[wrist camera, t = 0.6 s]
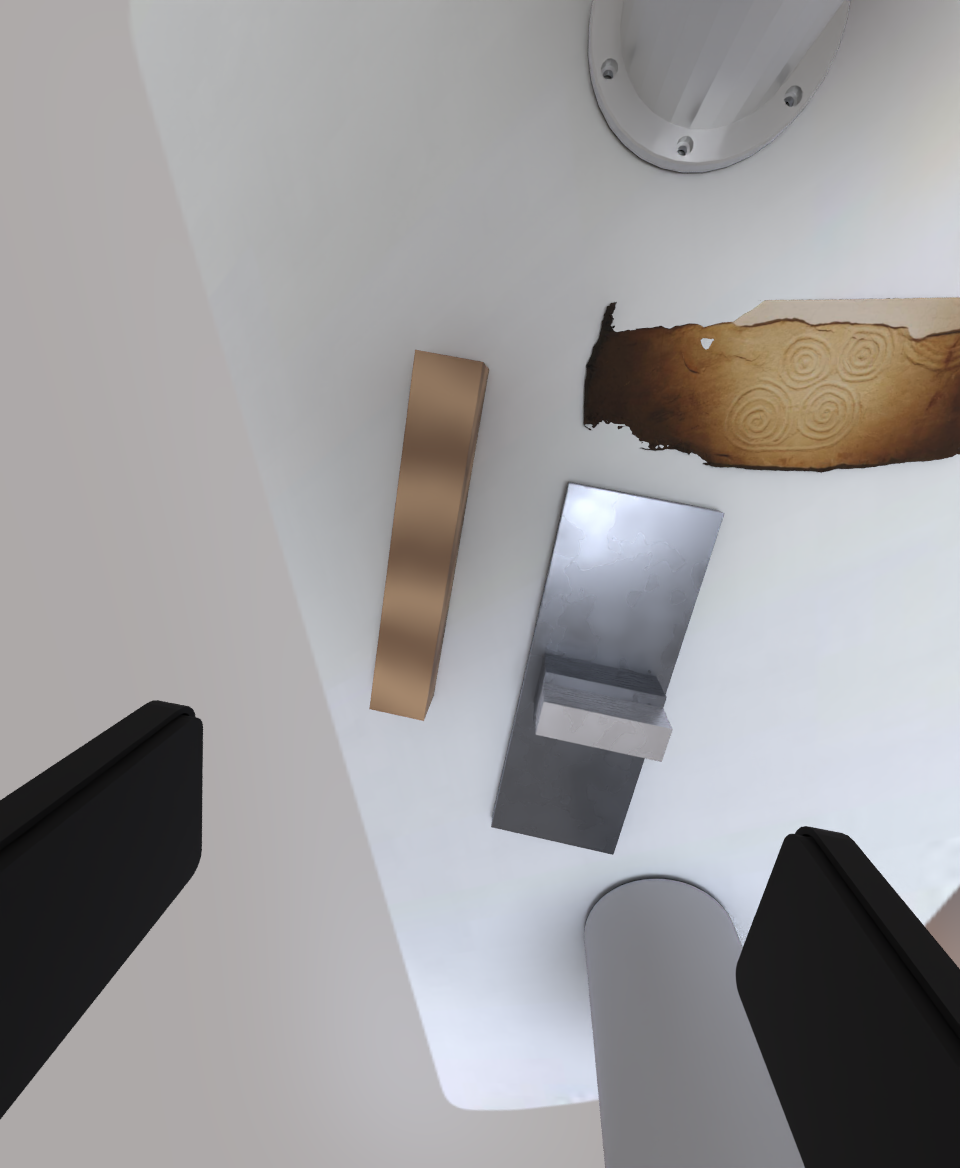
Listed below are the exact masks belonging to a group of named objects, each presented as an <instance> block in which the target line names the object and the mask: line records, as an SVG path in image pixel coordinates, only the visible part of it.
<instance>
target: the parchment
mask: <svg viewBox="0 0 960 1168" xmlns="http://www.w3.org/2000/svg"><path fill="white" fill-rule="evenodd" d="M616 303H617V302H615V303H611V304H610V306H607V310H606V313H605V314H604V320H603V321H602V329H601V332H600V338H599V340H598V341H597V343H596V344H595V346H594V347H593V353H592V356H591V358H590V360H589V362H588V364H587V366H586V367H587V376H586V380H585V401H584V425H585V424H592V425H593V426H592V427H593V428H595V427H596V425H597V424H599V422H602V420H603V421H604V422H605V423H606V424H609V423H610V422H612V423H614V424H625V425H626V426H628V427H630V430H631V431H632V434H633V435H635V436H636V437H637V438H639V441H645V442H648V443H649V446H648V447H649V448H650V449H645V450H654V451H656V450H665V449H677V450H678V451H681V452H684V453H688V454H690V453H691V452H692V453H694V454H697V455H698V456H700V457H701V458H702V459H703V460H705V461H707V463H702V464H705V465H711V466H713V467H737V468H744V469H753V470H775V471H776V470H780V471H794V470H795V471H816V472H821V473H822V472H826V471H830V470H833V469H853V468H866V467H877V466H883V465H889V464H895V463H899V464H900V463H905V462H917V461H922V462H923V461H931V460H935V459H936V460H939V459H944V458H949V457H953V456H954V455H956V454H960V298H913V299H910V298H905V299H899V298H894V299H890V298H888V299H850V300H849V299H845V300H843V299H839V300H836V299H832V300H765V301H763V302H762V303H761V304H759V305H758V306H757V307H755V308H754V309H753V310H751V311H749V312H747V313H745V314H744V315H742V316H741V317H739V318H738V319H737V320H735V321H734V322H724V323H718V324H714V325H711V326H707V327H704V328H703V326H701V325H698V324H686V325H682V326H675V327H673V328H671V329H667V328H664V327H663V326H659V327H653V328H640V329H636V330H631V331H630V330H626V331H621V332H615V331H614V330H613V329H612V328H614V327H615V326H613V327H612V326H611V324H612V322H613V320H614V318H613V316H612V314H613V312H614V310H615V304H616ZM702 338H708V339H712V338H713V339H714V341H713V342H712V344H711V345H710V347H709V349H706V350H705V349H704V348H703V347H702V345H701V341H700V340H701V339H702ZM607 421H608V422H607ZM585 427H586V426H585ZM622 427H624V426H618V429H621V428H622ZM586 428H587V427H586ZM588 429H589V430H591V429H590V428H588ZM642 443H643V442H642ZM657 445H658V448H657V449H656V448H655V447H656V446H657ZM659 445H663V446H664V447H663V449H662V448H660V447H659ZM667 445H669V446H668V447H667ZM642 449H644V448H642Z"/></svg>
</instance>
